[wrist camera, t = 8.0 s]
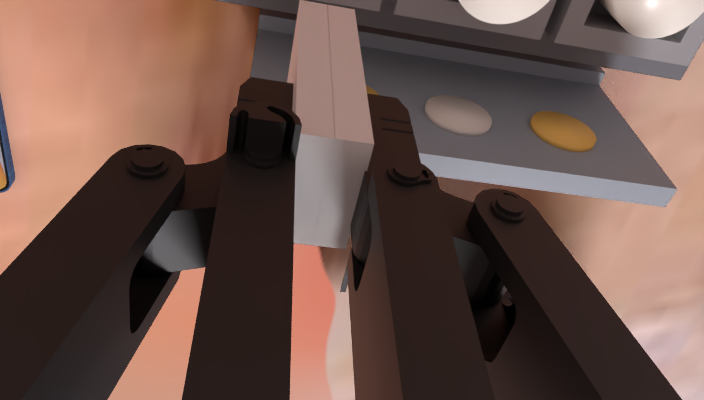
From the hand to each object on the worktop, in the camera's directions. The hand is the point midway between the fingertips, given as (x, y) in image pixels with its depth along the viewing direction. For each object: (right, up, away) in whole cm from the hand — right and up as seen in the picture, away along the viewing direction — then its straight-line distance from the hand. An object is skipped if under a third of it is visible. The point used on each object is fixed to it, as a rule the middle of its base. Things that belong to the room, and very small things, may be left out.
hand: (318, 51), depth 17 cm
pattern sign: (+6, +5, +22) cm, 24 cm away
